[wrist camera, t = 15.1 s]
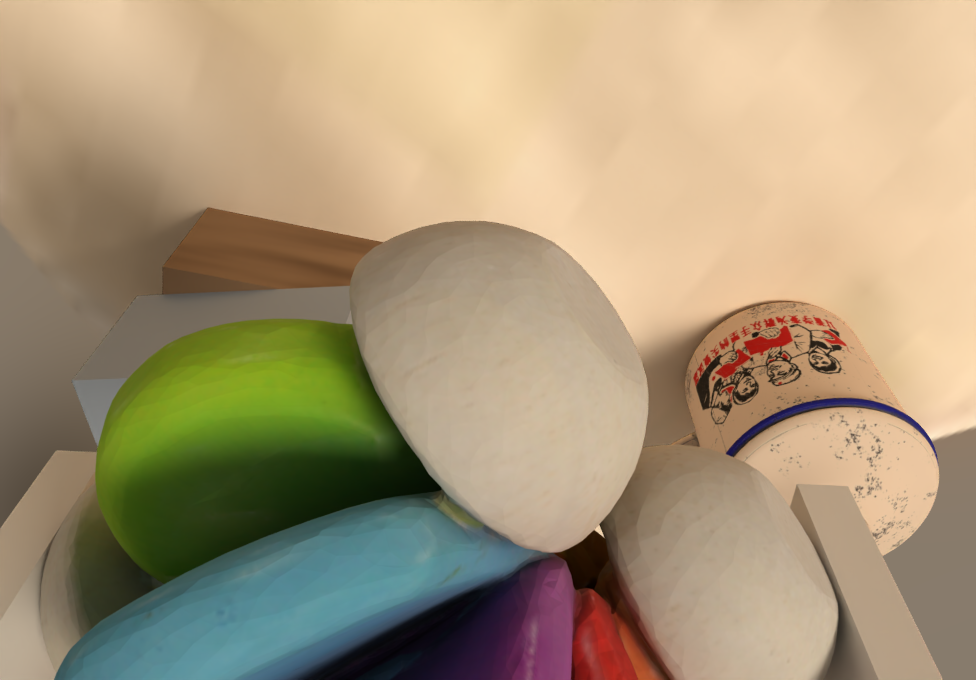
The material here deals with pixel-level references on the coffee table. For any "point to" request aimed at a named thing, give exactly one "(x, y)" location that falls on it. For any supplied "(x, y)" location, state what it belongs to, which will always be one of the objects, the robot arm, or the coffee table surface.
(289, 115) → the coffee table surface
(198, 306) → the gray brick
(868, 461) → the teacup with lid
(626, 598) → the rainbow petal toy
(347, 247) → the walnut brick
